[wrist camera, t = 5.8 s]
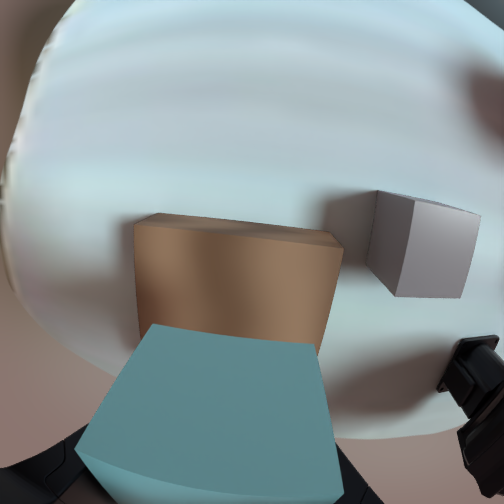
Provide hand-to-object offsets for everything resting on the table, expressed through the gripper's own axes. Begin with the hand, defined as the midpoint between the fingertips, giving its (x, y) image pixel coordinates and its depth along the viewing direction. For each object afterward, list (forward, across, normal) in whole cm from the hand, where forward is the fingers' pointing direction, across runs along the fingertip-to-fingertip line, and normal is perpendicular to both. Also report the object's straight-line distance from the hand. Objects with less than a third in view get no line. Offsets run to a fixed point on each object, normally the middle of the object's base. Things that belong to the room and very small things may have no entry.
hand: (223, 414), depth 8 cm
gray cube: (+11, -10, -5) cm, 16 cm away
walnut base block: (+11, +1, +2) cm, 12 cm away
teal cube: (+1, 0, 0) cm, 1 cm away
